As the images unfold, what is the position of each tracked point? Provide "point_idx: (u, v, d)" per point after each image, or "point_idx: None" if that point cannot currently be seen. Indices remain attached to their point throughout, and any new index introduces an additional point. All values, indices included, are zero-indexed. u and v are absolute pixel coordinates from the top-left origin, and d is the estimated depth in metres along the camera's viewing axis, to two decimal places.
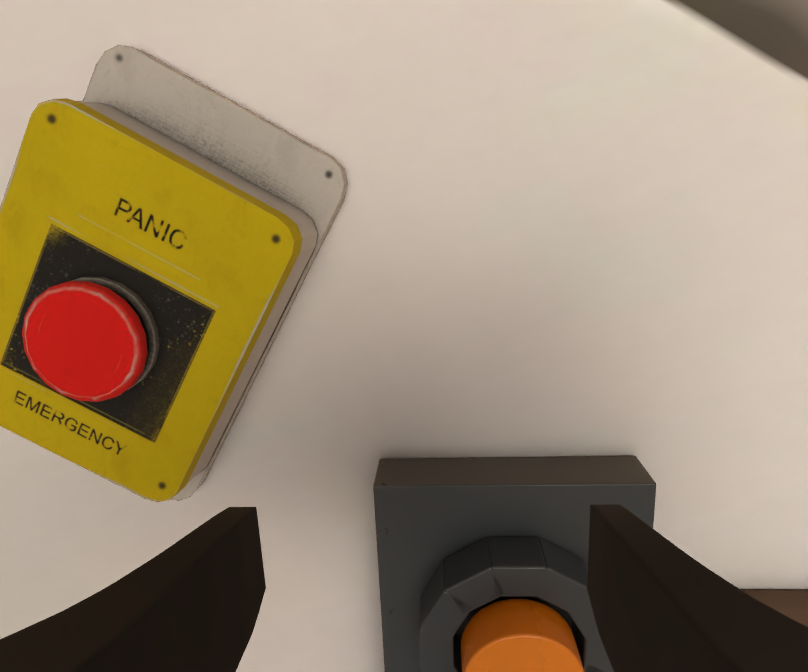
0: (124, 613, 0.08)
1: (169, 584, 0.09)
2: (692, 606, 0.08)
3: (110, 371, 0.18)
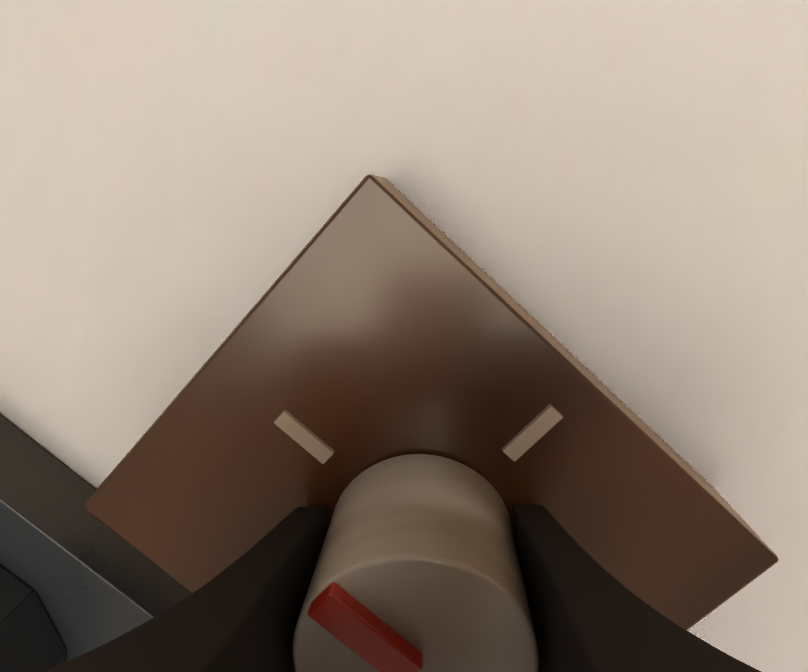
0: (228, 614, 0.08)
1: (263, 584, 0.09)
2: (575, 606, 0.08)
3: None
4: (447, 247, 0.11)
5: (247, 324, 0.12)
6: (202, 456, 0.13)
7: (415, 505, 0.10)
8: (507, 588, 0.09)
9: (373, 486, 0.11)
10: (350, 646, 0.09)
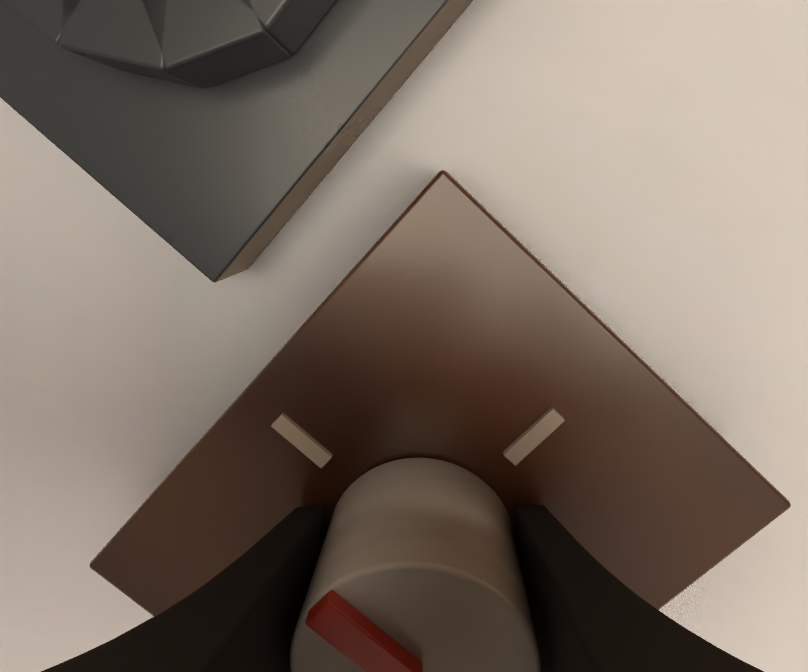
0: (227, 614, 0.08)
1: (262, 584, 0.09)
2: (578, 606, 0.08)
3: None
4: (712, 565, 0.12)
5: (658, 385, 0.11)
6: (510, 325, 0.11)
7: (415, 510, 0.10)
8: (509, 597, 0.09)
9: (372, 491, 0.11)
10: (348, 655, 0.09)
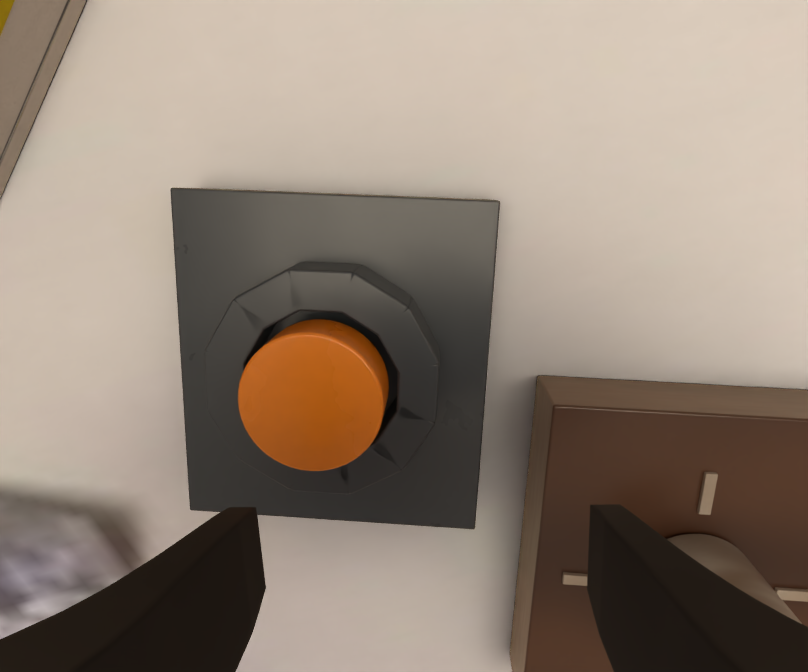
0: (124, 613, 0.08)
1: (168, 584, 0.09)
2: (692, 606, 0.08)
3: None
4: None
5: (754, 420, 0.17)
6: (647, 449, 0.18)
7: None
8: None
9: None
10: None
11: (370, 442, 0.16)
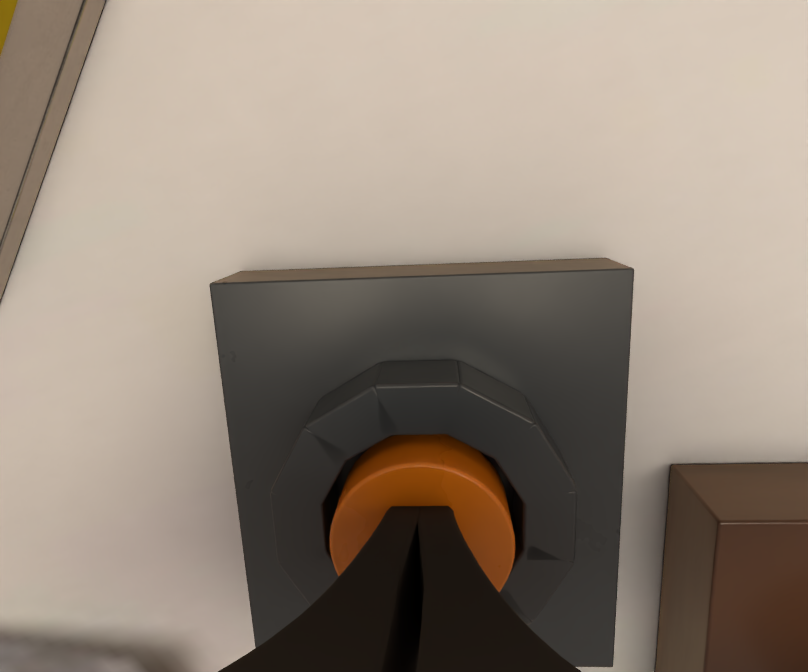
0: (371, 615, 0.08)
1: (393, 584, 0.09)
2: (435, 605, 0.08)
3: None
4: None
5: None
6: None
7: None
8: None
9: None
10: None
11: (500, 589, 0.12)
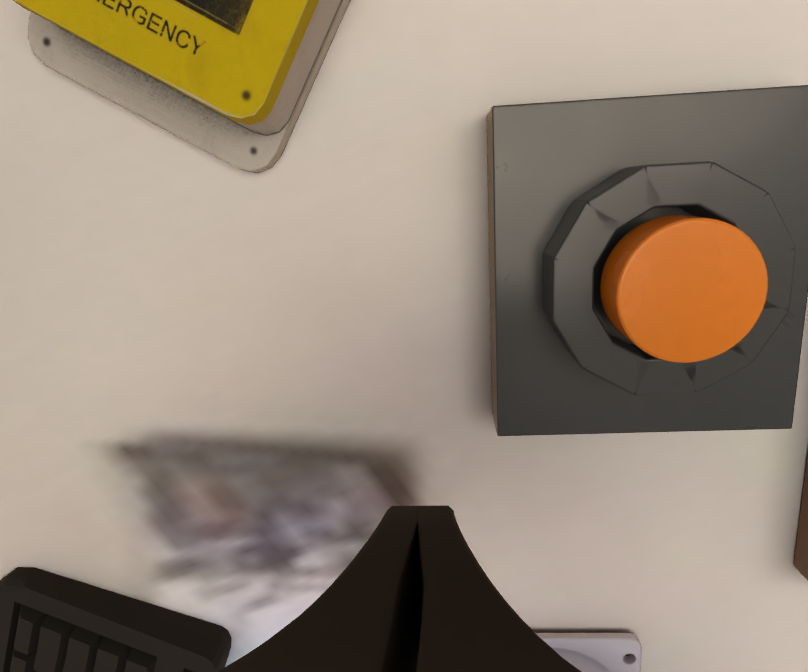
0: (371, 614, 0.08)
1: (392, 585, 0.09)
2: (436, 605, 0.08)
3: None
4: None
5: None
6: None
7: None
8: None
9: None
10: None
11: (752, 326, 0.16)
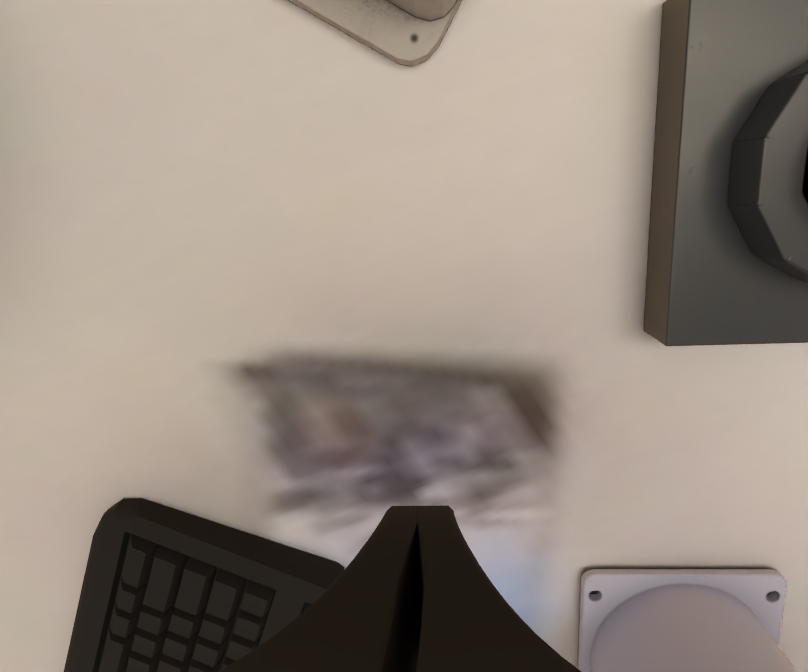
0: (371, 615, 0.08)
1: (393, 584, 0.09)
2: (435, 605, 0.08)
3: None
4: None
5: None
6: None
7: None
8: None
9: None
10: None
11: None
